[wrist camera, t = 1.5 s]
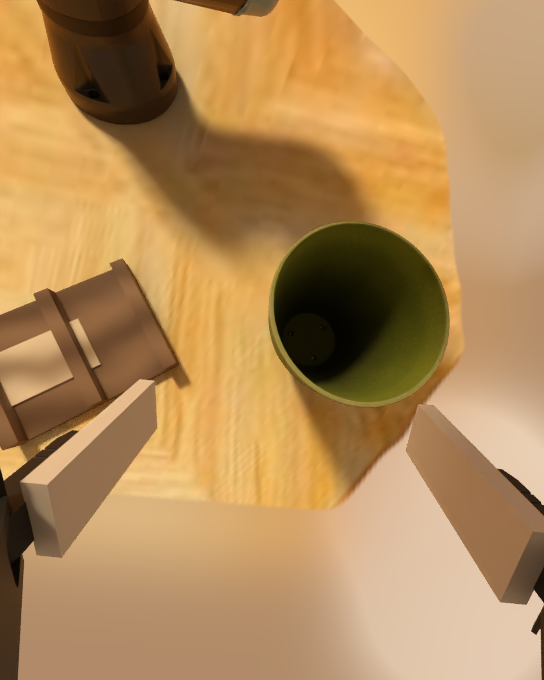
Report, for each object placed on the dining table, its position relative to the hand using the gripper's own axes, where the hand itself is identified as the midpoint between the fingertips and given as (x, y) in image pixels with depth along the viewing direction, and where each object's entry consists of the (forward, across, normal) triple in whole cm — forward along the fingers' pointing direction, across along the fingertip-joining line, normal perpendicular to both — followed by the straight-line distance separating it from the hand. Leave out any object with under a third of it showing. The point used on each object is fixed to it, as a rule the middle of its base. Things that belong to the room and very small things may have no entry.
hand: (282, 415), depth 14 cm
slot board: (+18, -24, -5) cm, 30 cm away
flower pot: (+24, +3, -3) cm, 24 cm away
